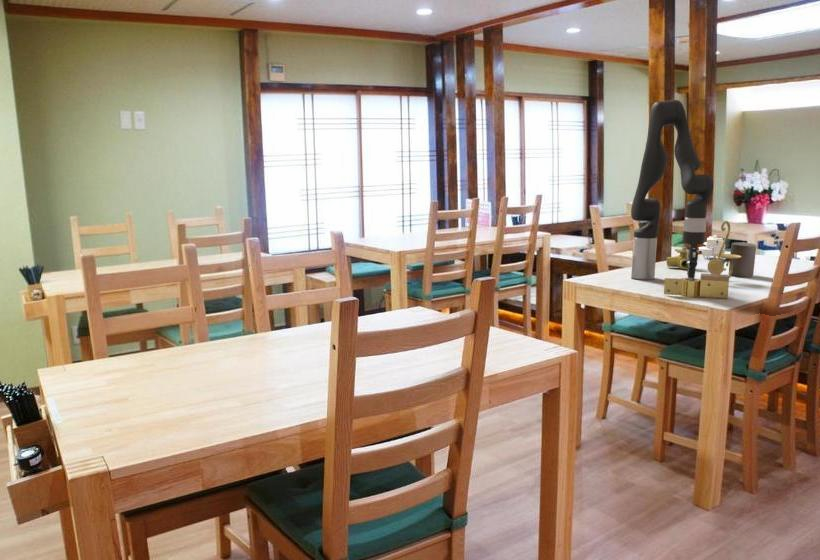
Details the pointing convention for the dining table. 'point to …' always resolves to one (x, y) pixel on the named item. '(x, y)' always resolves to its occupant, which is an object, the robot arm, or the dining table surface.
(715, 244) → the mechanical part
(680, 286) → the hinge block
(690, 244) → the robot arm
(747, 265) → the pillar candle
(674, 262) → the ball valve
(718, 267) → the wall sconce
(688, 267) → the hinge pin
